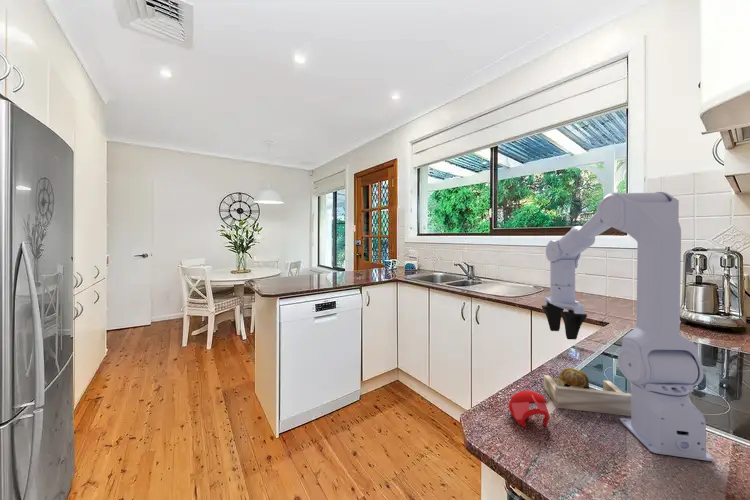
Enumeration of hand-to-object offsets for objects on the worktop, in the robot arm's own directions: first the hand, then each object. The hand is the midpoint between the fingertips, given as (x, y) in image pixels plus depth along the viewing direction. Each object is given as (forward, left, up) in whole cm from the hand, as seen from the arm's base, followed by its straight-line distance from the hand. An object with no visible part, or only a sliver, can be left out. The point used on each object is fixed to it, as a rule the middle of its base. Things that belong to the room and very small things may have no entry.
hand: (562, 334), depth 79 cm
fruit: (-10, +2, -10) cm, 14 cm away
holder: (-17, +1, -10) cm, 20 cm away
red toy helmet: (-29, +15, -10) cm, 34 cm away
